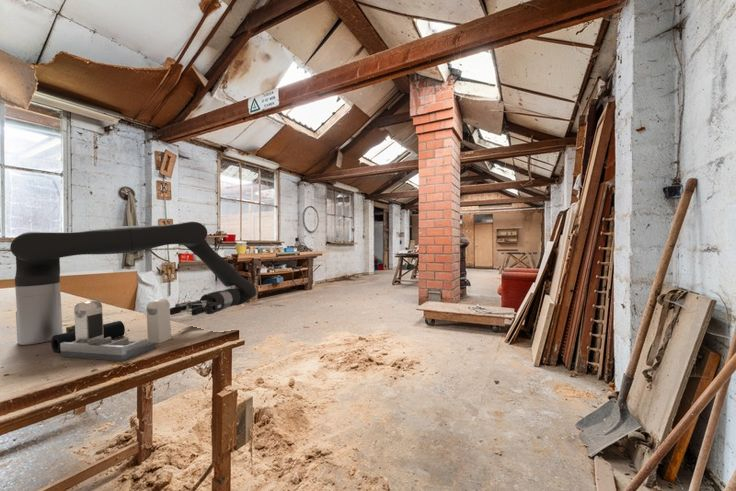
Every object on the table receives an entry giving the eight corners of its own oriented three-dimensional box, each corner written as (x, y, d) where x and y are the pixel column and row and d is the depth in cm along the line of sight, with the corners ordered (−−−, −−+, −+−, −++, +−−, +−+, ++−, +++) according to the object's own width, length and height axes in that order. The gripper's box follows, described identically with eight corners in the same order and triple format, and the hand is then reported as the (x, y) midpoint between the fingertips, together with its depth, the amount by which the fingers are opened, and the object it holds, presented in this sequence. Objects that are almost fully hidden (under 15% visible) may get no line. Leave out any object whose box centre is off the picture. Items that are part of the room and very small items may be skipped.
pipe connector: (40, 330, 85) (104, 317, 98) (40, 349, 85) (105, 333, 99) (59, 336, 80) (124, 321, 94) (60, 355, 80) (125, 338, 94)
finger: (147, 342, 87) (145, 301, 87) (159, 337, 91) (157, 298, 91) (159, 343, 87) (157, 301, 86) (171, 338, 90) (169, 299, 90)
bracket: (60, 356, 78) (58, 305, 78) (98, 344, 87) (96, 298, 86) (122, 361, 74) (119, 306, 73) (155, 347, 83) (153, 299, 82)
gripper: (199, 291, 114) (162, 300, 98) (232, 291, 111) (199, 301, 95) (200, 310, 114) (163, 322, 98) (233, 312, 111) (200, 324, 95)
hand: (181, 312), depth 97 cm, fingers open, 8 cm apart
